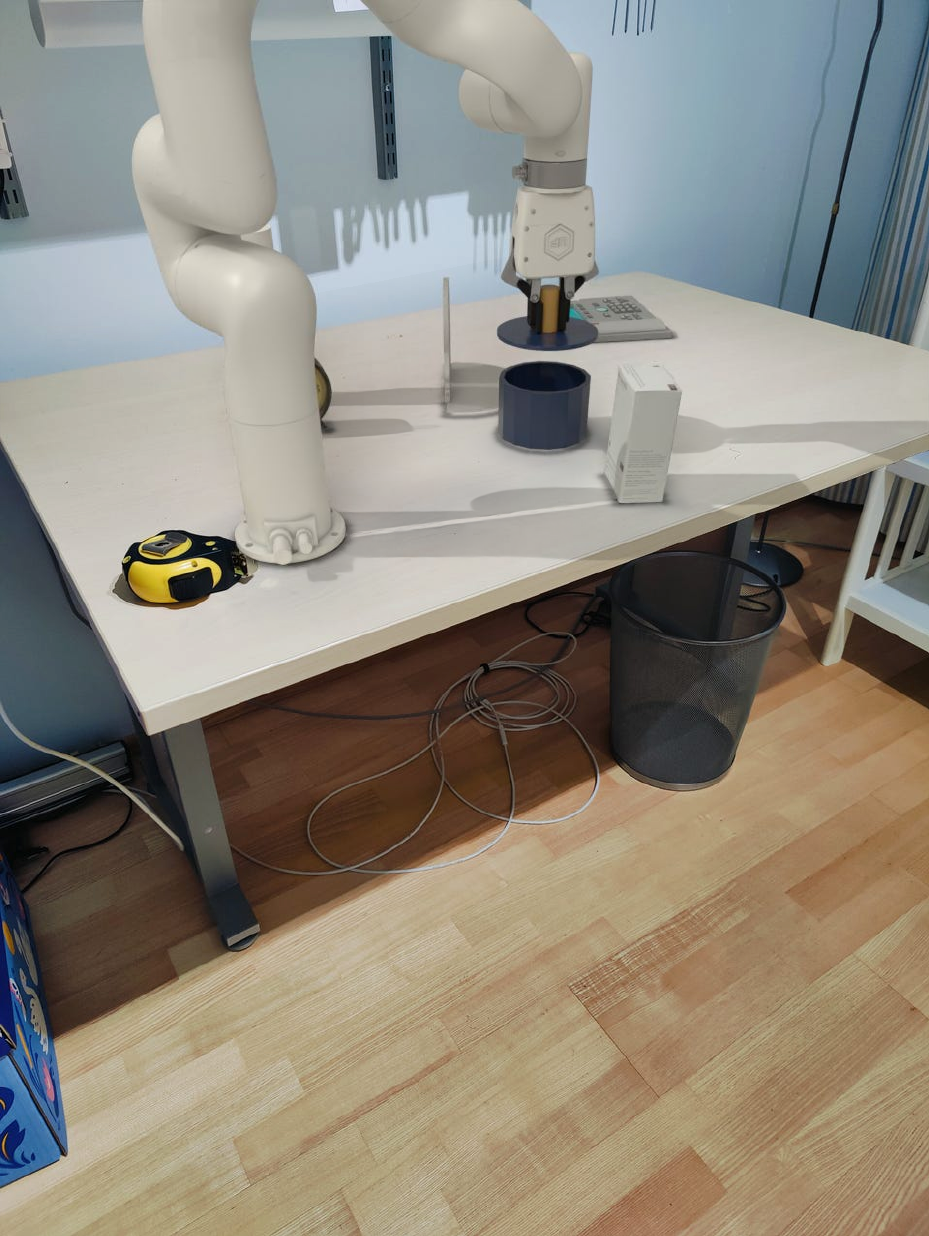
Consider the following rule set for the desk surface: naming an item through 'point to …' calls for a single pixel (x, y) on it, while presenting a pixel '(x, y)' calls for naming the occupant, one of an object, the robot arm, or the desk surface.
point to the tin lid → (548, 328)
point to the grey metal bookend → (467, 375)
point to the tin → (543, 405)
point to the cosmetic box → (642, 432)
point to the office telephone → (619, 318)
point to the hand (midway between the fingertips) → (547, 327)
